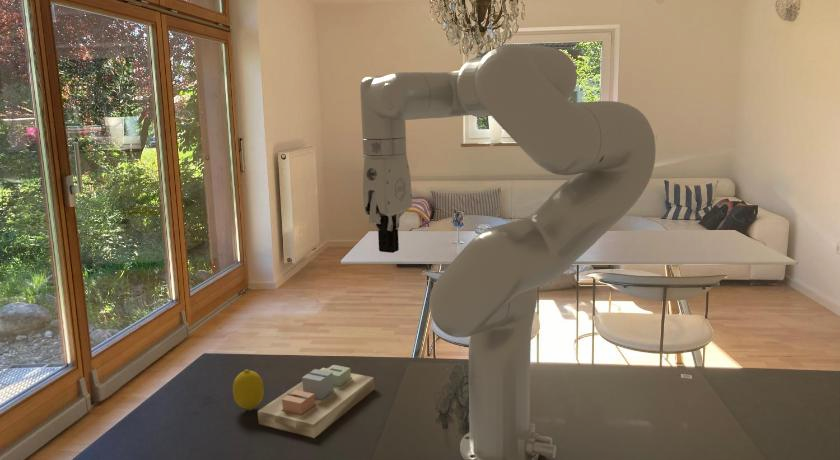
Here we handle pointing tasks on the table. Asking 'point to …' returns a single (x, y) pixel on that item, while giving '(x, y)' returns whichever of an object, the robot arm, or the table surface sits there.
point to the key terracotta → (298, 402)
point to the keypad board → (317, 408)
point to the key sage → (340, 375)
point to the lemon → (248, 389)
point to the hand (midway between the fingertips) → (388, 251)
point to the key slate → (318, 383)
